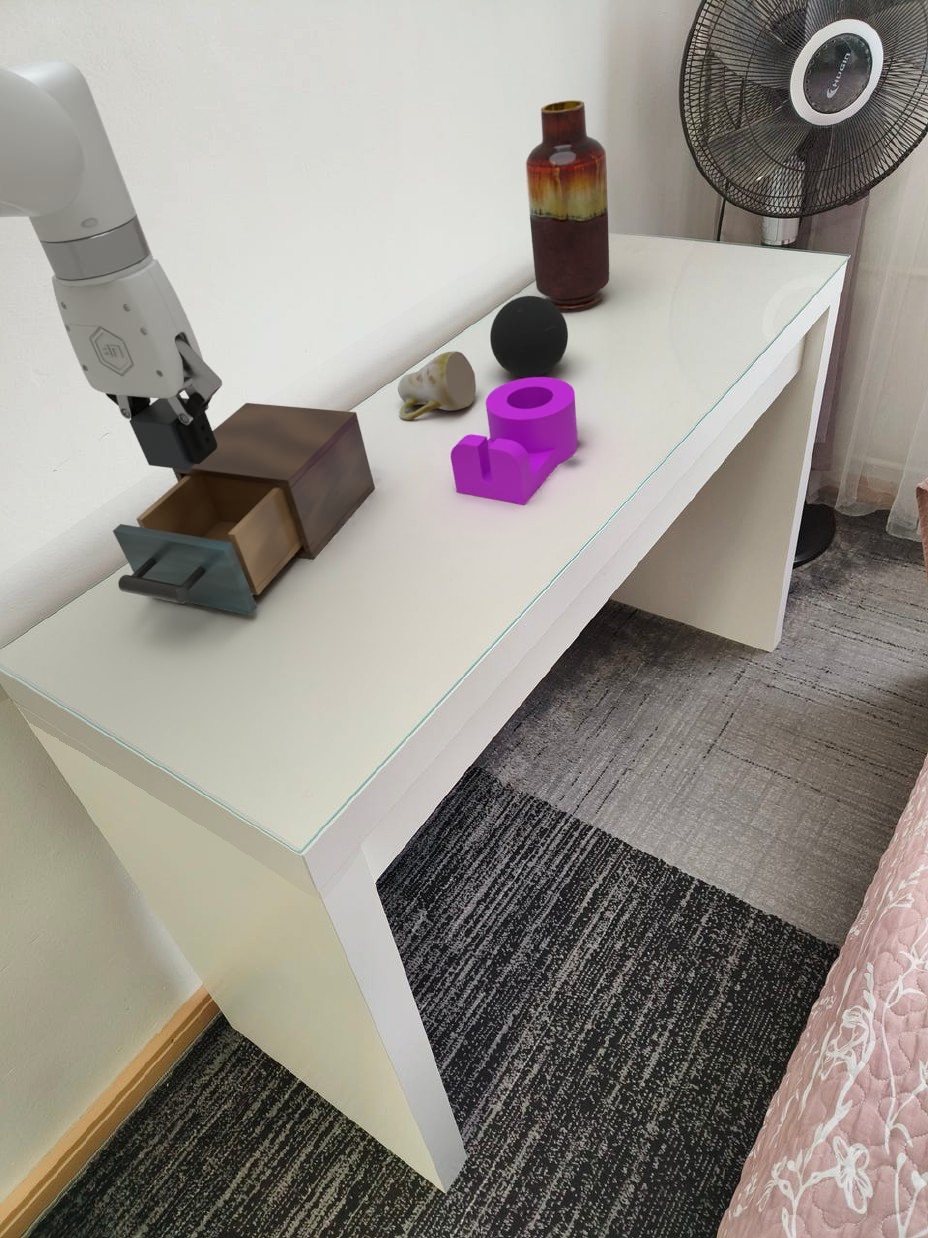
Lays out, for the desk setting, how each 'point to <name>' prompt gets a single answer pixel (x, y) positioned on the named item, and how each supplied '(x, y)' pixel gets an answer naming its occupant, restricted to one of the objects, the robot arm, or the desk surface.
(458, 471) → the tape dispenser
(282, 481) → the cabinet
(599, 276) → the vase
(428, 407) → the mug
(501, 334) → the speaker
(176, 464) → the block
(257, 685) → the desk surface
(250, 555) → the drawer
